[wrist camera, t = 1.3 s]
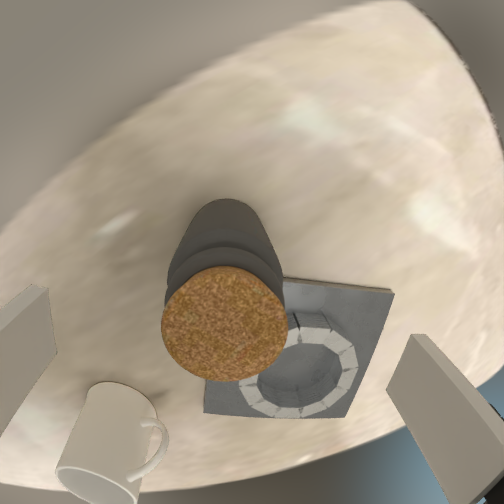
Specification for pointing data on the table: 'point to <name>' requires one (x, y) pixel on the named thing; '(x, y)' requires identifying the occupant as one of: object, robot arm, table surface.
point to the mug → (110, 446)
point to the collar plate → (311, 355)
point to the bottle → (225, 296)
